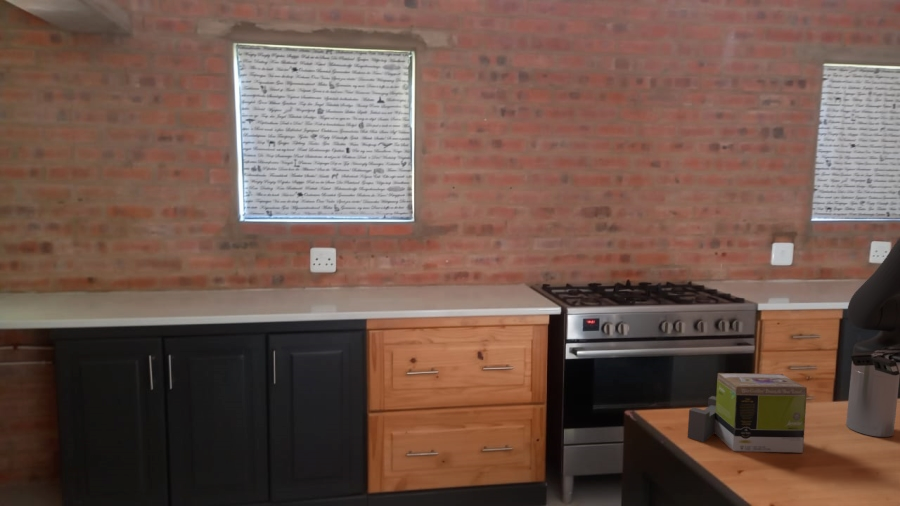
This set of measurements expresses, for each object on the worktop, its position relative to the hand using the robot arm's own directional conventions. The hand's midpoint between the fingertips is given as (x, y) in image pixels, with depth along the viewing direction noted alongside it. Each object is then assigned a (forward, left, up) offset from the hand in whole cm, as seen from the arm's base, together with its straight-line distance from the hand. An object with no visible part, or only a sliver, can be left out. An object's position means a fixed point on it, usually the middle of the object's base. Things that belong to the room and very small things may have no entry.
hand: (853, 359), depth 119 cm
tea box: (+3, -16, -22) cm, 28 cm away
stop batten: (+4, -26, -22) cm, 34 cm away
